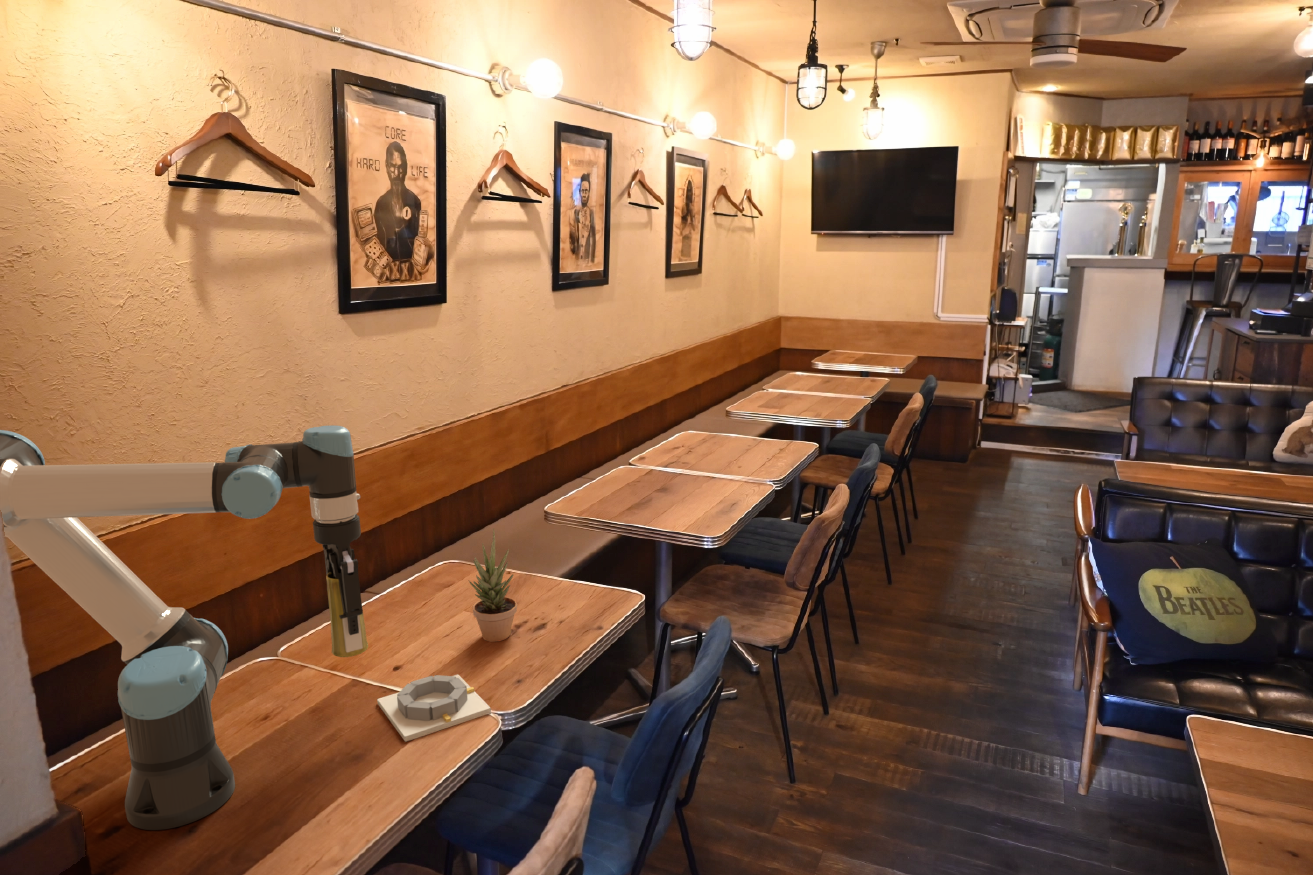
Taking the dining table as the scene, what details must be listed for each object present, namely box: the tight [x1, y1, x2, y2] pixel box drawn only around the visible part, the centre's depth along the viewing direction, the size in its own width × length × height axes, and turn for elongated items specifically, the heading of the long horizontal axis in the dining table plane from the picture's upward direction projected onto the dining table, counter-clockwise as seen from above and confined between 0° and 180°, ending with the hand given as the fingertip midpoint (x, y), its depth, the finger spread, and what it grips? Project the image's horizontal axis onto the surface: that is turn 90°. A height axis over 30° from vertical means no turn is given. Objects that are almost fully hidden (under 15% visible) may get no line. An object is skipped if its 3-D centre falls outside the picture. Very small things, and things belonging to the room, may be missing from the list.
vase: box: [325, 572, 369, 658], centre depth 152 cm, size 6×6×14 cm
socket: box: [376, 674, 492, 742], centre depth 162 cm, size 16×16×4 cm
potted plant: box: [468, 528, 518, 643], centre depth 190 cm, size 10×10×25 cm
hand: (349, 642), depth 154 cm, fingers closed on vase, 6 cm apart
